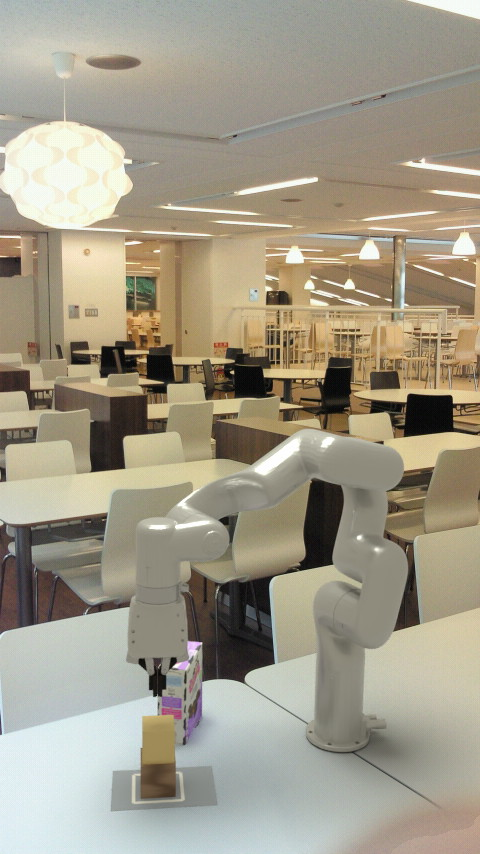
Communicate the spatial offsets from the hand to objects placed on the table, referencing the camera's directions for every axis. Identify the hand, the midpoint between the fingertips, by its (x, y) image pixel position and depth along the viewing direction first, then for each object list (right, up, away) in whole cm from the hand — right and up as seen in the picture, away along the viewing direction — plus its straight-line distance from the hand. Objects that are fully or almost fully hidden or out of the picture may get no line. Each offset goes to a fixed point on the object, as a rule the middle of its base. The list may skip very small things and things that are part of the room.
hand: (157, 693), depth 145 cm
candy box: (+2, -15, +24) cm, 29 cm away
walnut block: (0, -17, +3) cm, 18 cm away
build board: (+1, -18, +3) cm, 19 cm away
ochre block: (0, -12, +2) cm, 12 cm away
